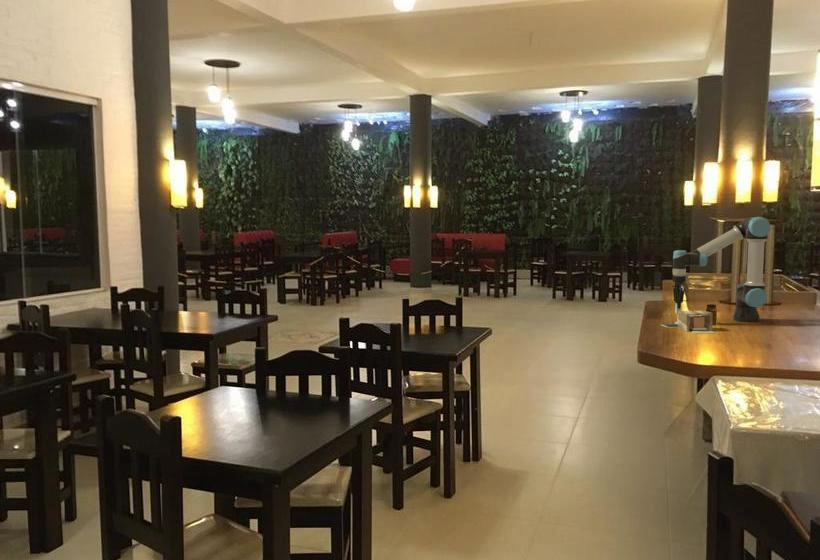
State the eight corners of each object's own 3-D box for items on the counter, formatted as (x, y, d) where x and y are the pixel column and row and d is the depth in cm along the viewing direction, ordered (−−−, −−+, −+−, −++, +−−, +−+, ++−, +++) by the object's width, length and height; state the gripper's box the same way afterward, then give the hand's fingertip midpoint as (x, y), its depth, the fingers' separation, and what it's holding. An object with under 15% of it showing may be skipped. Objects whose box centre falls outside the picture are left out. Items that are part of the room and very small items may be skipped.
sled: (688, 323, 423) (688, 311, 422) (707, 329, 398) (707, 317, 398) (675, 323, 423) (675, 312, 422) (693, 330, 398) (693, 318, 397)
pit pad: (688, 324, 423) (688, 323, 423) (696, 326, 413) (696, 326, 413) (661, 325, 423) (661, 324, 423) (667, 327, 413) (668, 327, 413)
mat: (709, 331, 398) (709, 330, 398) (715, 333, 391) (715, 332, 391) (691, 331, 398) (691, 331, 398) (696, 333, 391) (696, 333, 391)
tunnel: (703, 327, 411) (703, 310, 410) (712, 330, 400) (712, 313, 399) (678, 328, 410) (678, 311, 409) (686, 331, 399) (686, 313, 398)
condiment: (719, 324, 421) (719, 304, 420) (711, 325, 417) (711, 306, 415) (708, 322, 427) (709, 303, 426) (700, 324, 423) (700, 304, 422)
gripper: (668, 274, 431) (667, 312, 433) (677, 276, 418) (676, 315, 420) (680, 274, 431) (679, 311, 433) (689, 276, 418) (688, 314, 420)
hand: (677, 313), depth 427 cm, fingers closed
